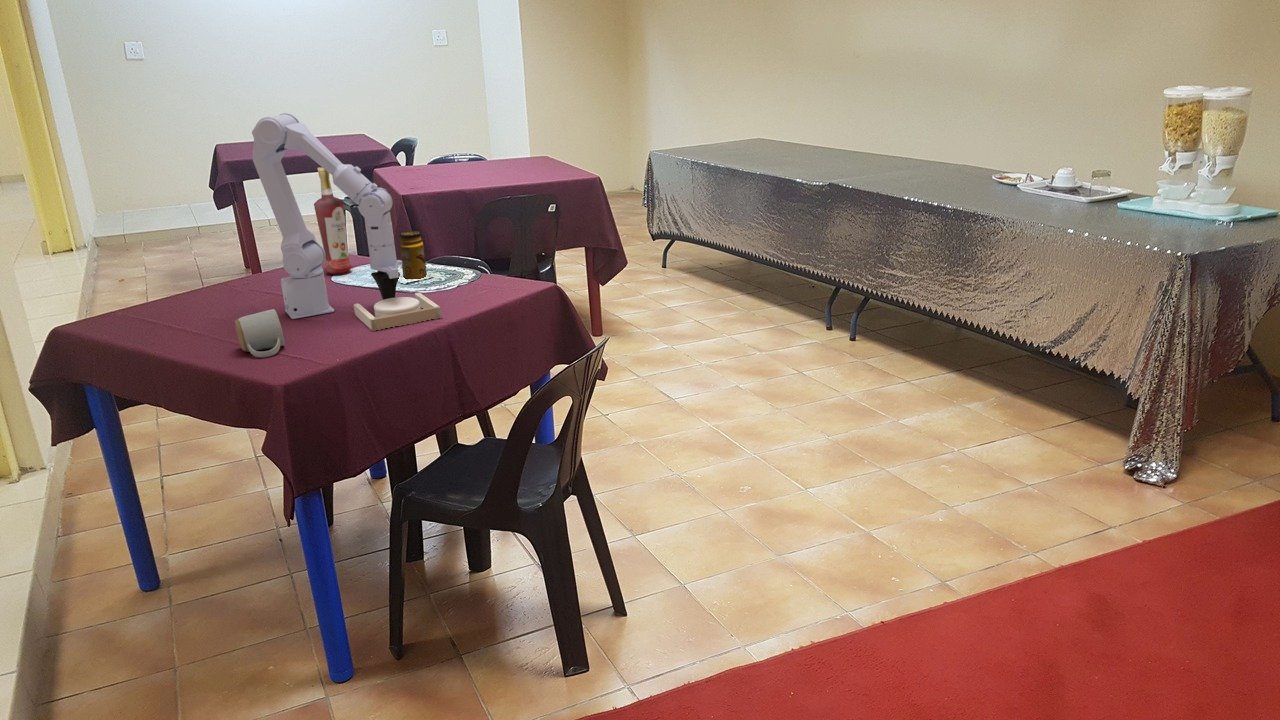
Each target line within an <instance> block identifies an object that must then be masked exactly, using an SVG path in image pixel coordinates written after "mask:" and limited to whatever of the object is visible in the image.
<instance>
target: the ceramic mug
mask: <svg viewBox="0 0 1280 720" xmlns="http://www.w3.org/2000/svg"><path fill="white" fill-rule="evenodd" d="M280 321H281V320H280V319H279V315H278V313H277V311H276V310H275V308H272V309H268V310H263V311H260V312H256V313H253V314H247V315H244V316H242V317H239V318H237V319H236V320H234V325H235V332H236V335H237V339H238V342H239V344H240V347H241V350H242V351H244V352H247V353H248V352H250V354H251V355H253V356H254V357H257V358H262V359H263V358H269V357H272V356H274V355H276V354H277V353H278V352H279V351H280V349H281V347H282V346H285V339H284V334H283V328H282V324H281V322H280ZM266 349H269V350H266ZM261 350H262V351H261ZM263 350H265V351H263Z"/></svg>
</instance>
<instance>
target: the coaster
mask: <svg viewBox="0 0 1280 720" xmlns="http://www.w3.org/2000/svg"><path fill="white" fill-rule="evenodd" d="M419 304H420V302H419V300H417V299H415V297H410V296H397V297H396V296H395V298H389V299H385V300H383V299H382V300H379V301H377V302H375V304H374V305H373V310H374V312H373V314H374V315H375V316H374V317H375V318H378V317H383V316H388V315H394V314H399V313H404V312H410V311H415V310H420V309H421V307H420V306H419Z"/></svg>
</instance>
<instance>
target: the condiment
mask: <svg viewBox="0 0 1280 720" xmlns="http://www.w3.org/2000/svg"><path fill="white" fill-rule="evenodd" d="M421 235H422V234H421V232H420V231H418V230H416V231H415V230H413V231H403V232H401V233H400V234H399V238H400V239H399V242H400V244H399V253H400V260H401V261H402V264H401V269H402V276H403V277H404V278H405V279H421V278H424V277H426V275H427V276H428V274H427V273H428V272H427V262H426V255H425V246H424V242H423V240H422V237H421Z"/></svg>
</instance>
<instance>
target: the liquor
mask: <svg viewBox="0 0 1280 720" xmlns="http://www.w3.org/2000/svg"><path fill="white" fill-rule="evenodd" d="M317 173H318V174H317V175H318V177H319V179H320V194H321V197H320V198H319V199H317V200H316V201H315V202H314V203H313V207H314V212H315V216H316V221H317V226H318V230H319V236H320V240H321V244H322V245H321V246H322V247H323V249H324V251H325V256H326V257H325V265H326V267H325V268H324V269H325V271H326V272H328V273H329V274H330V275H332V276H339V275H340V274H341V275H346V274H348V273H349V272H350V271H351V269H352V268H353V266H352V264H351V263H350V256H349V255H350V254H349V248H348V247H349V246H348V238H347V237H348V236H347V227H346V216H345V209H344V208H345V207H344V201H343V200H342V199H340V198H338V197H335V196H334V193H333V189H332V185H331V180H330V173H329V172H328V171H326V170H325V169H324V168H323V167H321V166H319V167H317ZM345 273H346V274H345ZM341 275H340V276H341Z"/></svg>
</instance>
